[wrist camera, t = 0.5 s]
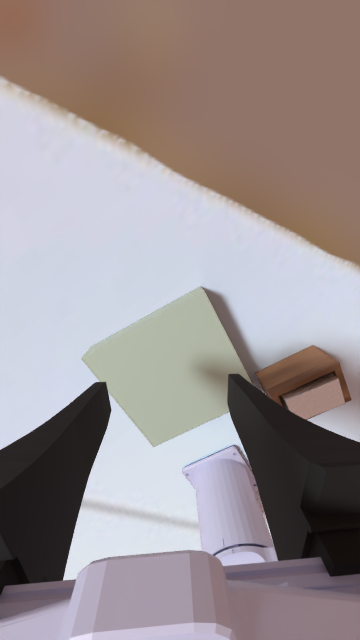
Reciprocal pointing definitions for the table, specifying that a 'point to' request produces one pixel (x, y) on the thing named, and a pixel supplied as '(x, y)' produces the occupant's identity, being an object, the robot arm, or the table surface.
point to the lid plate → (314, 397)
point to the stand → (169, 367)
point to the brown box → (299, 373)
